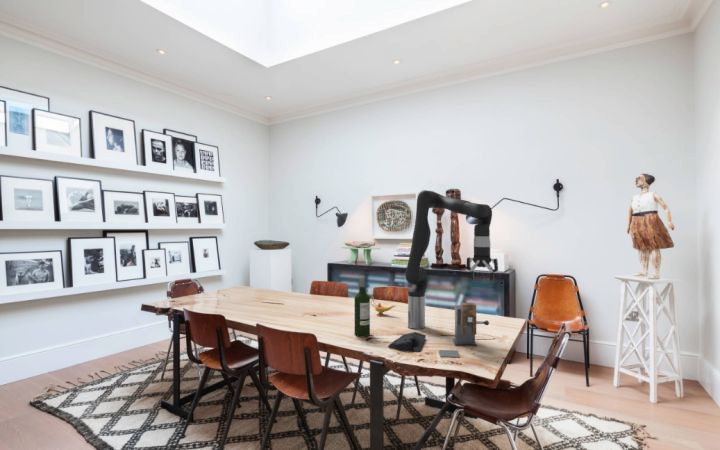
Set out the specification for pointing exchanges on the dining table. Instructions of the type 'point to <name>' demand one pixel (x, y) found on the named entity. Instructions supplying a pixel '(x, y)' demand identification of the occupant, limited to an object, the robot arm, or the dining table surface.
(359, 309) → the wine bottle
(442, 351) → the felt pad
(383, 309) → the magic lamp
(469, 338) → the vise stand
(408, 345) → the dark slate chunk
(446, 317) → the dining table surface
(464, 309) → the slotted wooden collar
